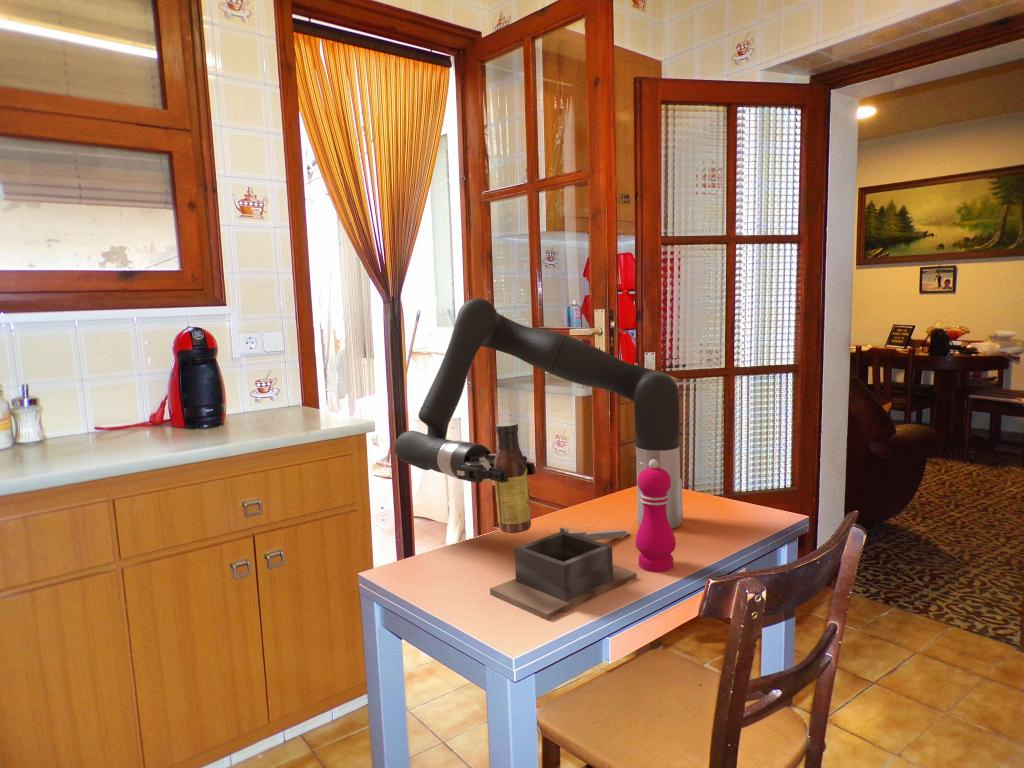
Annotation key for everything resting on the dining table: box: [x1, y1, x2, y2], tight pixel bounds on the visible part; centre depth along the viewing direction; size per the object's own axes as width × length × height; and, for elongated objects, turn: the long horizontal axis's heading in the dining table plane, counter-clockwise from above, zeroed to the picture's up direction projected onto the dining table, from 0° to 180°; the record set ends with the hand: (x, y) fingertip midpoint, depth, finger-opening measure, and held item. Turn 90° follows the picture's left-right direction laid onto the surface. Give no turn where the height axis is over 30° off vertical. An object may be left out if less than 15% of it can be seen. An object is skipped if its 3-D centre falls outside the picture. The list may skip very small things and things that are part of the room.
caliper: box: [559, 526, 631, 541], centre depth 135 cm, size 20×1×6 cm, turn 129°
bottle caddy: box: [489, 531, 638, 620], centre depth 117 cm, size 22×14×7 cm, turn 131°
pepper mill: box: [635, 459, 677, 573], centre depth 123 cm, size 7×7×20 cm
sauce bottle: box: [494, 422, 532, 534], centre depth 125 cm, size 7×6×20 cm
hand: (519, 472), depth 123 cm, fingers closed on sauce bottle, 6 cm apart
